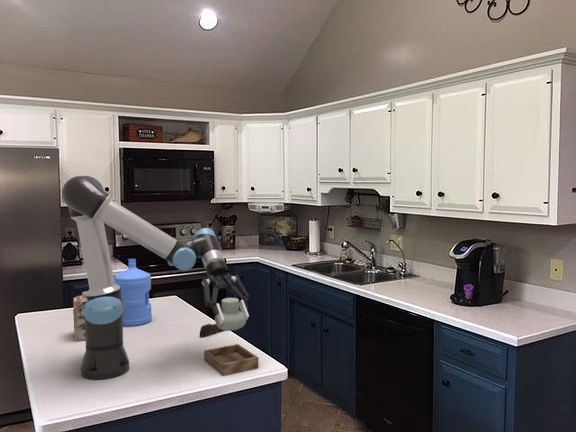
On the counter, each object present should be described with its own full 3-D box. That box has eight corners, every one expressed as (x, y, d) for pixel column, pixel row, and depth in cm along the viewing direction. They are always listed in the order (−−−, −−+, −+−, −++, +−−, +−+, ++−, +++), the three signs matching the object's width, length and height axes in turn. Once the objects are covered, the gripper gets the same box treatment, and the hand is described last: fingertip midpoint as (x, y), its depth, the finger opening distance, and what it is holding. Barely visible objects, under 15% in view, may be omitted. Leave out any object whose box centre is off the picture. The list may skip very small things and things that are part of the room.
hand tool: (229, 326, 214) (229, 315, 214) (236, 327, 212) (236, 317, 212) (195, 337, 200) (195, 325, 200) (201, 339, 197) (201, 327, 197)
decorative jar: (74, 342, 193) (73, 296, 192) (73, 333, 204) (72, 290, 202) (107, 337, 198) (105, 293, 197) (104, 329, 209) (103, 287, 208)
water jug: (124, 329, 210) (122, 263, 208) (109, 321, 221) (107, 259, 219) (158, 322, 220) (156, 259, 218) (142, 314, 232) (141, 255, 230)
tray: (222, 375, 160) (222, 365, 159) (204, 360, 173) (204, 350, 173) (258, 367, 166) (258, 357, 166) (238, 353, 180) (238, 343, 180)
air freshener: (248, 330, 167) (248, 301, 166) (226, 334, 162) (225, 304, 161) (234, 322, 176) (234, 294, 175) (212, 326, 171) (212, 297, 171)
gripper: (239, 268, 186) (259, 321, 174) (184, 274, 175) (202, 330, 163) (245, 256, 181) (266, 309, 169) (189, 262, 170) (207, 319, 158)
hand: (234, 320), depth 166 cm, fingers closed on air freshener, 8 cm apart
